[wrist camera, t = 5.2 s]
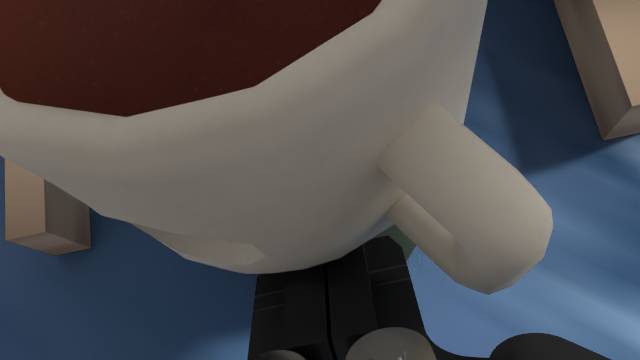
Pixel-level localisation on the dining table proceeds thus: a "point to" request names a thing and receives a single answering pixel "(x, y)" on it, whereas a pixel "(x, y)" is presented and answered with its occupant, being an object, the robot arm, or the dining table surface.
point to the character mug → (270, 129)
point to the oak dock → (588, 52)
